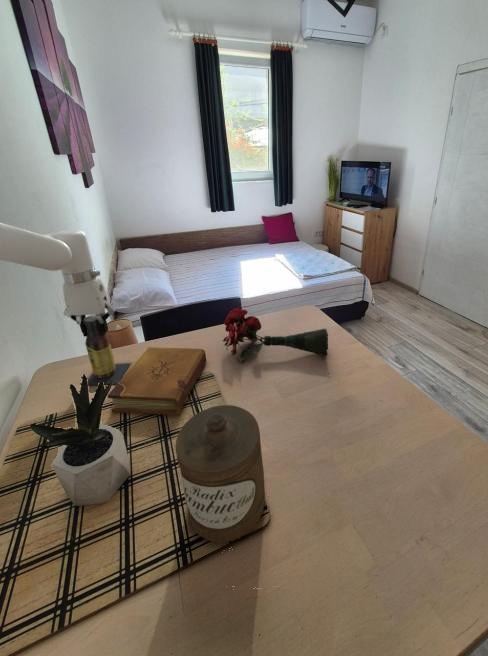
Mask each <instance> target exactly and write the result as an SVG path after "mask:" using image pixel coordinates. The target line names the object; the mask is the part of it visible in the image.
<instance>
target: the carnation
mask: <svg viewBox="0 0 488 656" xmlns="http://www.w3.org/2000/svg"><path fill="white" fill-rule="evenodd" d="M247 314H248V310H247V309H240V308H238V307H237V308H234V309H233V310H231V311H229V313H228V314H227V316H226V318H225V319H224V326H225V332H226V333H228V334H227V335H226V336H225V337H224V338H223V340H222V343H224V347H226V349H225V350H226V351H228V350H229V349H228V348H229V347H230V346H232V349H231V350H230V353H231V355H232V356H235V355H237V354H238V351H237V346H240V343H245V341H250V342H251V343H250V344H249V345H248V346H247V347H245V348H244V349H243V350H241V353H240V355H239V361H240V363H242V362H243V361H244V360H245V359H246V358H247V357H248V355H250V352H251V349H252V347H254V348H253V350H252V353H253V354H257V353H259V352H260V350H261V349H262V347H263V346H265V347H267V346H268V347H270V346H273V347H274V346H275V347H279V346H280V347H281V346H282V347H289V348H291V349H295V350H300V351H304V352H309V353H312V354H317V355H320V356H325V357H326V356H328V350H329V333H328V330H327V328H322V329H316V330H311V331H305V332H301V333H299V332H298V333H296V334H290V335H285V336H279V335H278V336H276V335H275V336H273V335H272V336H271V335H264V337H263V336H260V335H258V334H257V333H258V331H260V330H262V323H261V321H260V319H259V318H258V317H256V316H255V315H250V316H247V317H245V316H246V315H247ZM258 341H259V342H260V343H257V344H255V342H258Z"/></svg>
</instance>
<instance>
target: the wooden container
mask: <svg viewBox="0 0 488 656" xmlns="http://www.w3.org/2000/svg"><path fill="white" fill-rule="evenodd" d="M175 454H176V455H175V456H176V459H177V464H178V467H179V471H180V476H181V483H182V488H183V495H184V500H185V504H186V508H187V513H188V517H189V521H190V524H191V526H192V529H193V530H194V532H195V533H196V534H198V535H199V536H200V537H201V538H202V539H204V540H206V541H209V542H211V543H220V544H221V543H228V542H232V541H235V540H238V539H240V538H241V537H243V536H244V535H246V534H247V533H249V532H250V531H251V530H252V529H253V528H254V527H255V526H256V524H258V522H259V520H260V518H261V516H262V515H263V512H264V508H265V503H266V489H265V471H264V462H263V452H262V444H261V431H260V426H259V423H258V421H257V419H256V417H255V416H254V415H253V414H252V413H251V412H250V411H249V410H247V409H246V408H243V407H240V406H238V405H233V404H232V405H231V404H222V405H221V404H220V405H216V406H215V405H214V406H210V407H208V408H206V409H203V410H201V411H199V412H197V413H196V414H195V415H193V416H191V417H190V418H189V419H188V420H187V421H186V422H185V423H184V424H183V425H182V427H181V428H180V430H179V431H178V433H177V436H176V439H175Z"/></svg>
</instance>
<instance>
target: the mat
mask: <svg viewBox="0 0 488 656" xmlns="http://www.w3.org/2000/svg"><path fill="white" fill-rule="evenodd" d="M130 365H131V362H129V363H115V367H116V370H115V372H114V373H113V374H112V375H111V376H108V377H105V378H97V377H96V376H95V375H94V373H93V372H92V373H91V374H90V376H89V377H88V378H87V380H88V386H87V387H93V386H95V387H96V386H99V385H98V383H99V382H100V381H103V382H104V385H103V386H109V384H110V382H111V381H112V380H113V384H112V385H117V384H118V382H119V381H120V380H121V379H122V378H123V377H124V375H125V374H126V373H127V370H128V368H129V367H130Z"/></svg>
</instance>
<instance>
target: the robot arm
mask: <svg viewBox="0 0 488 656" xmlns="http://www.w3.org/2000/svg"><path fill="white" fill-rule="evenodd" d="M0 261H2V262H7V263H13V264H16V265H17V264H18V265H23V266H27V267H32V268H37V269H41V270H45V271H50V272H51V271H53V272H55V271H61V274H62V277H63V282H62V294H63V299H64V304H65V309H64V311H63V314H62V315H63V316H65V317H68V318H70V319H71V320H72V321H74V322H76V324H77V325H78V326H79V327H80V331H81V333H82V336H83V337H84V338H85V337H87V328H86V325H85V324H84V319H85V318H86V317H87V316H90V315H96V317H97V319H98V321H99V324H98V327H99V331H100V334H101V336H104V335H105V334H106V333H107V332H108V331H109V326H108V322H107V320H108V318H110V317H111V316H112V315H114V314H115V312H116V311H117V309H116V308H115V307H114V306H113V304H111V300H110V297H109V294H108V291H107V289H106V286H105V285H104V281H103V280H102V279H101V277H100V276H101V271H100V270H96V268H95V266H94V261H93V258H92V253H91V250H90V246H89V242H88V239H87V235H86V233H85V232H84V231H83V230H81V229H65V230H59V231H56V232H54V233H46V234H45V233H43V234H40V233H38V232H34V231H30V230H27V229H24V228H20V227H17V226H13V225H10V224H6V223H3V222H0ZM106 310H107V311H106Z"/></svg>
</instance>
